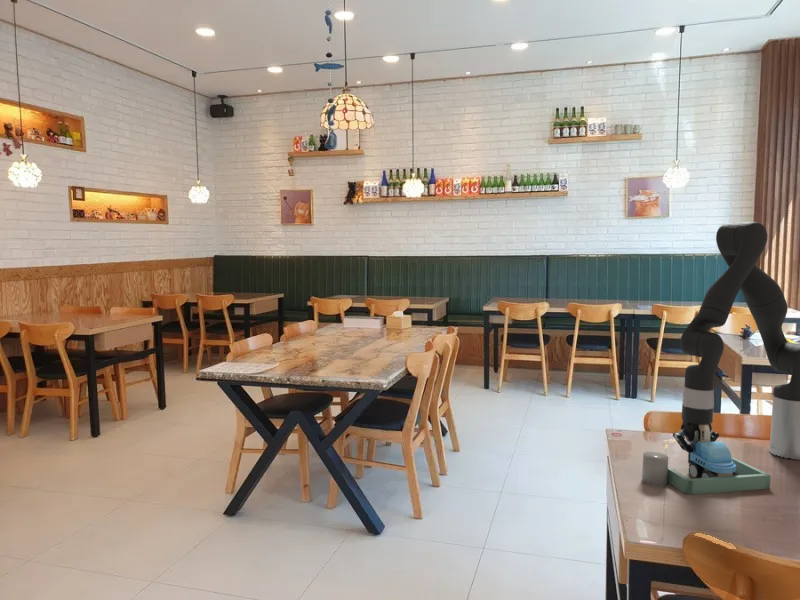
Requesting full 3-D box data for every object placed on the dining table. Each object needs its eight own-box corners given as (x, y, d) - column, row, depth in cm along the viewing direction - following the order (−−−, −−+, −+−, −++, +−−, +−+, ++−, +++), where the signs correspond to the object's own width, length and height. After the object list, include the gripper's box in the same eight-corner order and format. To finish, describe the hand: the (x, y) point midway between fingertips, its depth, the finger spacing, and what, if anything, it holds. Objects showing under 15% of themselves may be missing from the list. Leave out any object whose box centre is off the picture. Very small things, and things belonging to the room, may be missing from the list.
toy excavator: (701, 465, 166) (704, 405, 164) (742, 489, 149) (747, 423, 148) (672, 466, 165) (676, 406, 163) (711, 490, 148) (715, 424, 147)
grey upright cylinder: (657, 476, 157) (659, 451, 157) (671, 485, 151) (673, 459, 151) (637, 478, 156) (638, 452, 155) (650, 487, 150) (652, 460, 150)
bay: (732, 469, 163) (733, 457, 162) (769, 488, 150) (770, 475, 150) (656, 475, 158) (657, 462, 158) (687, 494, 146) (688, 481, 145)
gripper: (709, 399, 164) (706, 460, 166) (667, 401, 162) (663, 462, 163) (729, 407, 157) (725, 470, 158) (685, 409, 154) (681, 473, 156)
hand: (694, 466), depth 161 cm, fingers closed
